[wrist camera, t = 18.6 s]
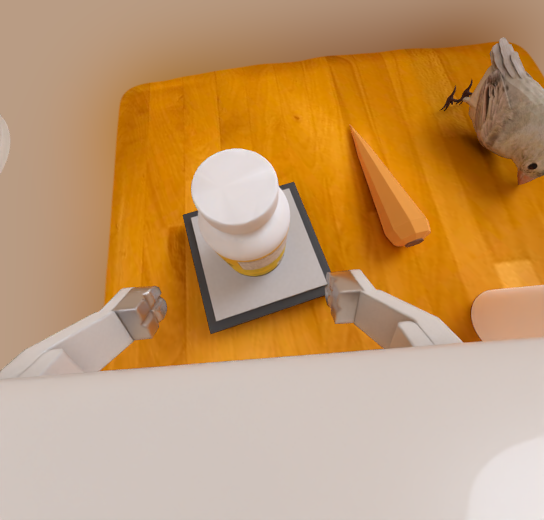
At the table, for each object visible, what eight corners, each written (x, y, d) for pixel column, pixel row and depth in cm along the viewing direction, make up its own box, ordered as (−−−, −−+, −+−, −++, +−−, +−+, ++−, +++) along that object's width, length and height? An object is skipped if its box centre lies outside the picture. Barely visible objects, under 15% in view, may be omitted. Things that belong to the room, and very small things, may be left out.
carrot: (408, 251, 25) (447, 232, 21) (384, 253, 23) (421, 233, 20) (350, 140, 32) (371, 110, 28) (328, 135, 30) (347, 103, 26)
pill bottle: (229, 220, 23) (183, 131, 11) (286, 222, 22) (296, 134, 11) (222, 277, 21) (162, 238, 10) (283, 280, 21) (293, 244, 10)
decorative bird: (504, 194, 26) (592, 149, 19) (431, 108, 30) (481, 43, 23) (536, 179, 27) (635, 130, 19) (461, 96, 30) (519, 29, 23)
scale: (217, 331, 23) (208, 334, 20) (191, 223, 26) (180, 212, 23) (332, 292, 23) (340, 290, 20) (292, 193, 27) (294, 178, 24)
